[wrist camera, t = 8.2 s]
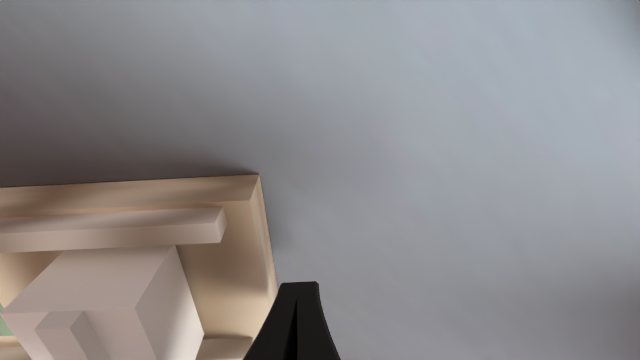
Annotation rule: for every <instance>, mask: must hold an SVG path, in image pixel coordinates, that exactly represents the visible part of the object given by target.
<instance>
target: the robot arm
mask: <svg viewBox="0 0 640 360" xmlns="http://www.w3.org/2000/svg"><path fill="white" fill-rule="evenodd" d="M243 360H341V359H340V357H339V355H338V352H337V350H336V347H335V345H334V343H333V340H332V337H331V335H330V332H329V329H328V326H327V323H326V320H325V317H324V313H323V310H322V306H321V301H320V295H319V284H318V283H317V282H316V281H314V282H291V283H282V284H281V285H280V288H279V291H278V293H277V296H276V298H275V300H274V303H273V305H272V307H271V309H270V311H269V313H268V316H267V317H266V319H265V321H264V323H263V325H262V327H261V329H260V331H259V333H258V335H257V336H256V338H255V340H254V341H253V343H252V345H251V347H250V348H249V350H248V352H247V353H246V355H245V357H244V358H243Z"/></svg>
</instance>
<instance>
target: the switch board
mask: <svg viewBox="0 0 640 360" xmlns="http://www.w3.org/2000/svg"><path fill="white" fill-rule="evenodd" d="M161 245H175V246H176V249H177V252H178V255H179V258H180V262H181V265H182V268H183V271H184V274H185V277H186V280H187V283H188V286H189V289H190V292H191V295H192V298H193V301H194V304H195V307H196V310H197V313H198V317H199V320H200V323H201V326H202V329H203V332H204V336H203V339H202V342H201V345H200V347H199V350H198V353H197V356H196V359H195V360H243V358H244V357H245V355H246V353H247V352H248V350H249V348H250V347H251V345H252V343H253V341H254V340H255V338H256V336H257V335H258V333H259V331H260V329H261V327H262V325H263V323H264V321H265V319H266V317H267V316H268V313H269V311H270V309H271V307H272V305H273V303H274V300H275V298H276V296H277V293H278V287H277V281H276V274H275V268H274V262H273V256H272V250H271V243H270V237H269V231H268V225H267V218H266V212H265V206H264V200H263V194H262V187H261V181H260V175H259V174H256V175H237V176H218V177H199V178H180V179H161V180H142V181H124V182H105V183H86V184H67V185H48V186H29V187H10V188H0V312H1V311H2V310H3V309H4V308H6V307H7V306H8V305H9V304H10V303H11V302H12V301H13V300H14V299H15V298H16V297H17V296H18V295H19V294H20V293H21V292H22V291H23V290H24V289H25V288H26V287H27V286H28V285H29V284H30V283H31V282H32V281H33V280H34V279H35V278H36V277H37V276H38V275H40V274H41V273H42V272H43V271H44V270H45V269H46V268H47V267H48V266H49V265H50V264H51V263H52V262H53V261H54V260H55V259H56V258H57V257H58V256H59V255H60V254H61V253H62V252H63V251H64V250H76V249H97V248H118V247H139V246H161ZM0 360H32V359H31V358H30V356H29V355H28V353H27V352H26V351H25V349H24V348H23V346H22V345H21V344H20V342H19V341H18V340H17V338H16V337H15V335H14V334H13V333H12V331H11V330H10V328H9V327H8V326H7V324H6V323H5V321H4V320H3V319H2V317H1V316H0Z"/></svg>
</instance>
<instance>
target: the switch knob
mask: <svg viewBox="0 0 640 360" xmlns="http://www.w3.org/2000/svg"><path fill="white" fill-rule="evenodd" d="M0 316H1V317H2V319H3V320H4V321H5V323H6V324H7V326H8V327H9V328H10V330H11V331H12V333H13V334H14V335H15V337H16V338H17V340H18V341H19V342H20V344H21V345H22V346H23V348H24V349H25V351H26V352H27V353H28V355H29V356H30V358H31V359H32V360H195V359H196V356H197V353H198V350H199V347H200V345H201V342H202V339H203V336H204V332H203V329H202V326H201V323H200V320H199V317H198V313H197V310H196V307H195V304H194V301H193V298H192V295H191V292H190V289H189V286H188V283H187V280H186V277H185V274H184V271H183V268H182V265H181V262H180V258H179V255H178V252H177V249H176V246H175V245H161V246H139V247H118V248H97V249H76V250H64V251H63V252H62V253H61V254H60V255H59V256H58V257H57V258H56V259H55V260H54V261H53V262H52V263H51V264H50V265H49V266H48V267H47V268H46V269H45V270H44V271H43V272H42V273H41V274H40V275H38V276H37V277H36V278H35V279H34V280H33V281H32V282H31V283H30V284H29V285H28V286H27V287H26V288H25V289H24V290H23V291H22V292H21V293H20V294H19V295H18V296H17V297H16V298H15V299H14V300H13V301H12V302H11V303H10V304H9V305H8V306H7V307H6V308H4V309H3V310H2V311H1V312H0Z"/></svg>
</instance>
